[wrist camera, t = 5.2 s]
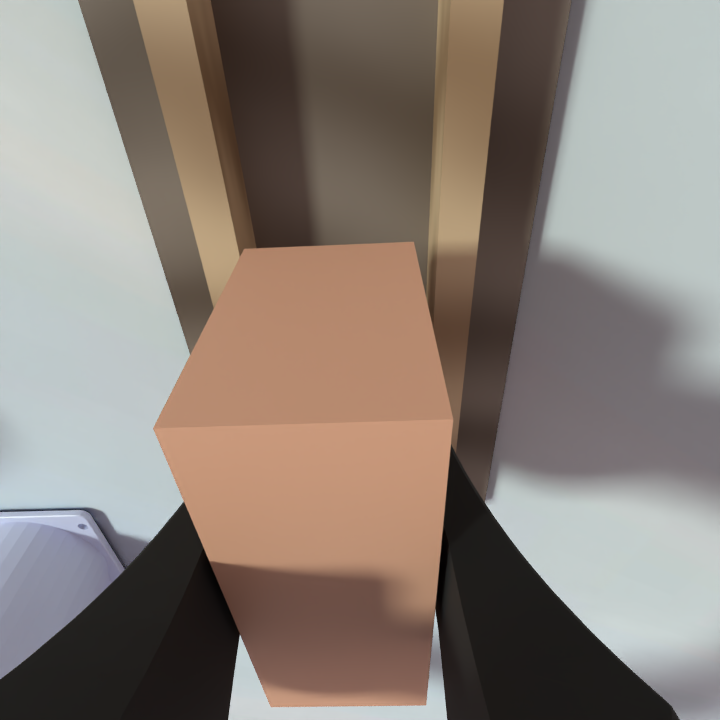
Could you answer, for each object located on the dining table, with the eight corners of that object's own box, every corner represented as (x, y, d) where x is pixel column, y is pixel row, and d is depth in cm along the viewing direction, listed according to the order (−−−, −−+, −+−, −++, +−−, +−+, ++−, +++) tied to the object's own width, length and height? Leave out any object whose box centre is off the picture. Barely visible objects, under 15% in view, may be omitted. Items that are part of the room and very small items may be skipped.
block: (244, 249, 11) (153, 428, 6) (413, 241, 11) (453, 418, 6) (297, 510, 17) (271, 707, 12) (407, 507, 17) (426, 705, 12)
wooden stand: (481, 496, 25) (493, 543, 23) (242, 502, 26) (230, 548, 24) (587, -143, 11) (643, -183, 9) (55, -108, 12) (-19, -137, 9)
